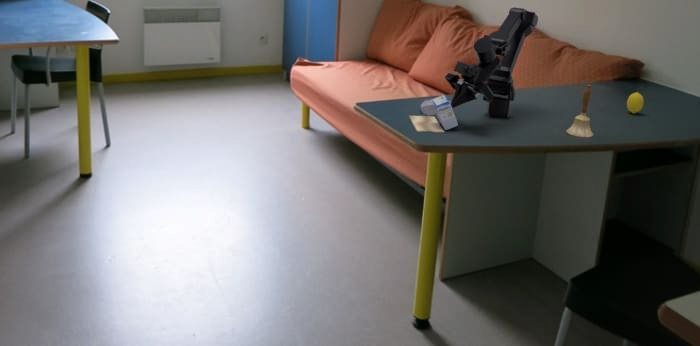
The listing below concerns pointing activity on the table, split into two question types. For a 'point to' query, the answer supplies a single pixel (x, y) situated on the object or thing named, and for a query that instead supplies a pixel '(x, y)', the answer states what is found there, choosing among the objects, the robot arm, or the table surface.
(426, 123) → the cork pad
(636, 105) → the lemon
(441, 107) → the medicine box
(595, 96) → the table surface
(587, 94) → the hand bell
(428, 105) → the stone block
